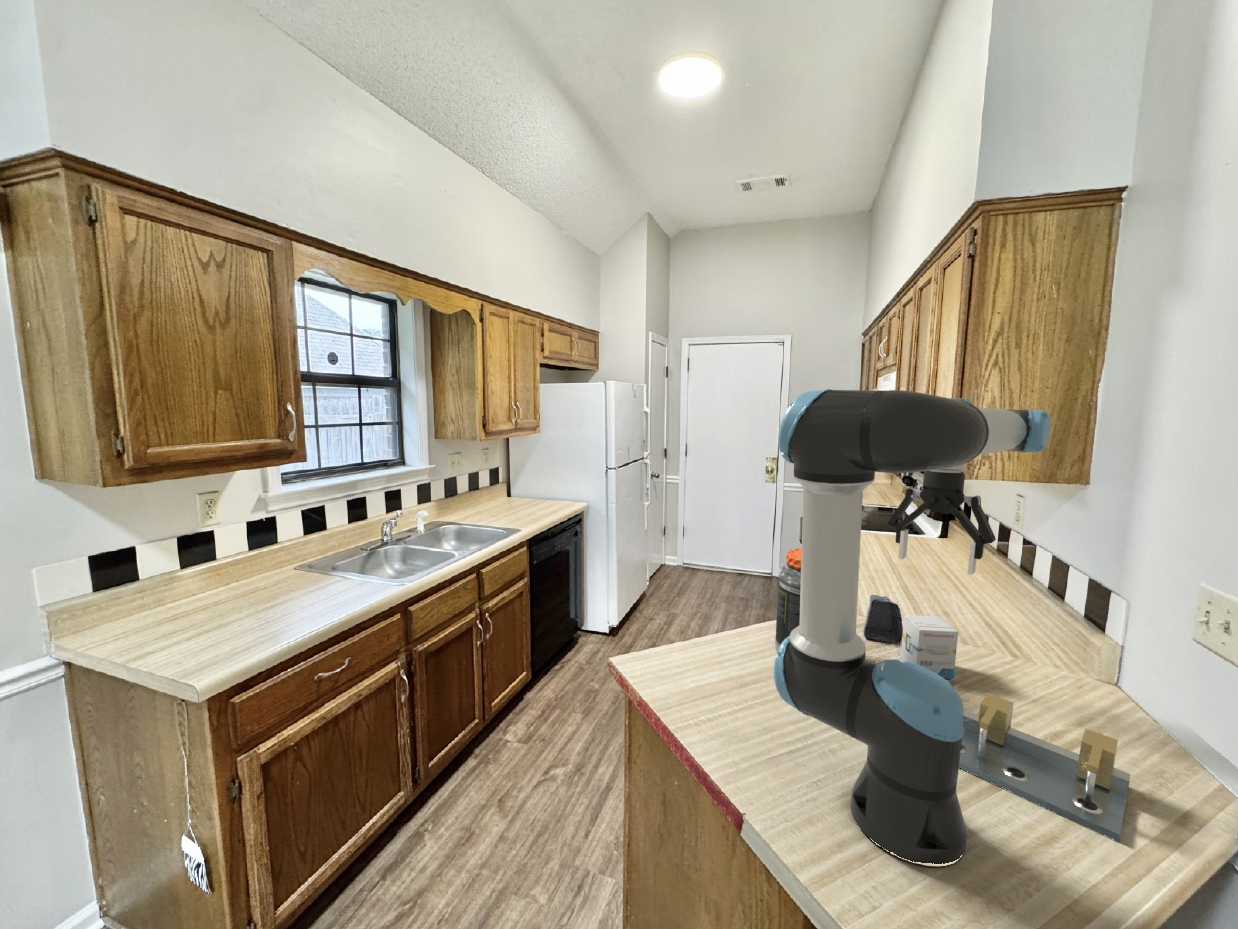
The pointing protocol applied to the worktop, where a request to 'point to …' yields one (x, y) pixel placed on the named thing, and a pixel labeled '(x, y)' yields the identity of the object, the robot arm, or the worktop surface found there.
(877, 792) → the robot arm
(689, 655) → the worktop surface
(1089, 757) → the grey peg fixture
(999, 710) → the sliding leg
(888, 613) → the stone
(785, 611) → the supplement tub
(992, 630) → the worktop surface
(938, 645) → the ink box
